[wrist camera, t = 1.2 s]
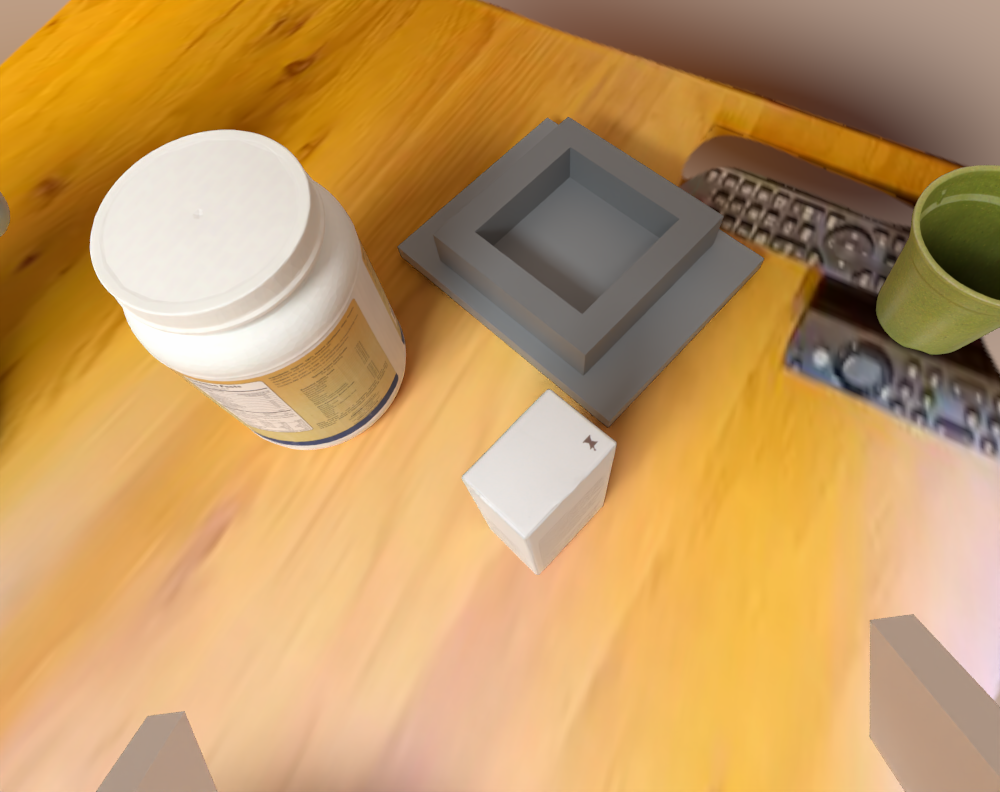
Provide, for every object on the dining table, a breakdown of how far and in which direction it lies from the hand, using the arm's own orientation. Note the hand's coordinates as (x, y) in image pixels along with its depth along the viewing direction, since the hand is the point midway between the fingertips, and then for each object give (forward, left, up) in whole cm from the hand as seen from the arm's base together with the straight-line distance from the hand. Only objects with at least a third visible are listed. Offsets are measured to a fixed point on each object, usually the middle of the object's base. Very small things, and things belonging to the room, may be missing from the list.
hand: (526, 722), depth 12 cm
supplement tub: (-24, +4, -26) cm, 36 cm away
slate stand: (-17, +22, -25) cm, 38 cm away
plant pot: (+3, +34, -26) cm, 42 cm away
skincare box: (-6, +7, -26) cm, 27 cm away
